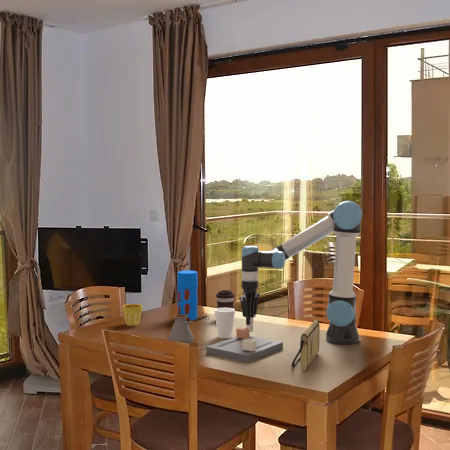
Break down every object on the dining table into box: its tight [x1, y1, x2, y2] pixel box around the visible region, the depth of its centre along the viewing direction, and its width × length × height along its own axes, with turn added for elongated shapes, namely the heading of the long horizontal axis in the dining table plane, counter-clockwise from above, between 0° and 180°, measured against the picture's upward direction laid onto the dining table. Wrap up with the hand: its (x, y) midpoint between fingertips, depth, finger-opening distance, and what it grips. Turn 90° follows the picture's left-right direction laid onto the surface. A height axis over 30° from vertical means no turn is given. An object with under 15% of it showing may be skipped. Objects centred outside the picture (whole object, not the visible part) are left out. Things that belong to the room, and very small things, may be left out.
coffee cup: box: [215, 289, 236, 309], centre depth 328 cm, size 10×10×15 cm
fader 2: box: [242, 339, 256, 351], centre depth 256 cm, size 5×3×4 cm, turn 52°
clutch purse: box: [291, 319, 321, 372], centre depth 250 cm, size 30×7×15 cm, turn 161°
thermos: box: [176, 270, 199, 321], centre depth 329 cm, size 11×11×25 cm
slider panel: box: [205, 335, 284, 364], centre depth 266 cm, size 22×26×3 cm
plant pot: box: [121, 303, 144, 327], centre depth 315 cm, size 10×10×10 cm
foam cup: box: [214, 307, 236, 339], centre depth 290 cm, size 10×9×13 cm
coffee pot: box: [167, 314, 210, 344], centre depth 274 cm, size 21×12×15 cm, turn 54°
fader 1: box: [235, 326, 250, 339], centre depth 276 cm, size 5×3×4 cm, turn 52°
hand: (249, 331), depth 280 cm, fingers closed
